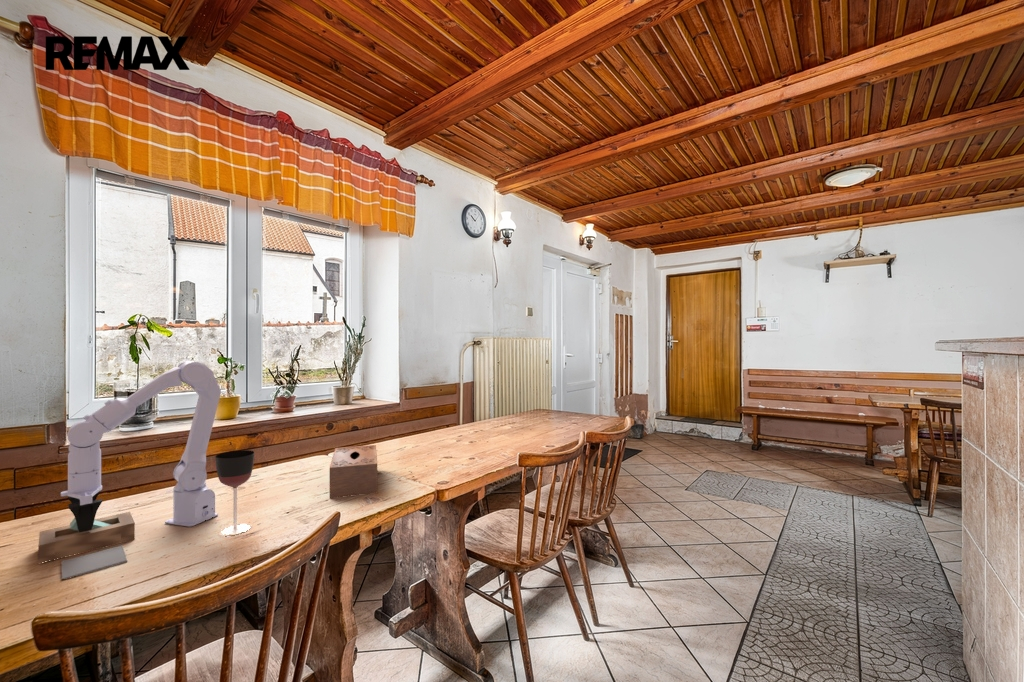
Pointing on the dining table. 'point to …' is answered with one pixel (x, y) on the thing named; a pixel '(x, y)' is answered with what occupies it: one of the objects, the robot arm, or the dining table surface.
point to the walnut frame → (85, 537)
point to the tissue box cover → (353, 471)
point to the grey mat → (93, 562)
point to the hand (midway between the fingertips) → (84, 526)
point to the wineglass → (235, 479)
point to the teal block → (96, 525)
